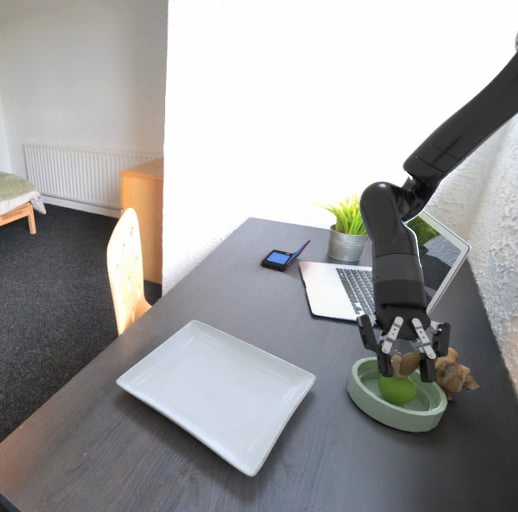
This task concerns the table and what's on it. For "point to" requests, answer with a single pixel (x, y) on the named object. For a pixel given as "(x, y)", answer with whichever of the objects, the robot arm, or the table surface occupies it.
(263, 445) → the square plate
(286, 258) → the handheld console
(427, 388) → the dish
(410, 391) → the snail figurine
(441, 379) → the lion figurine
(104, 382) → the table surface
